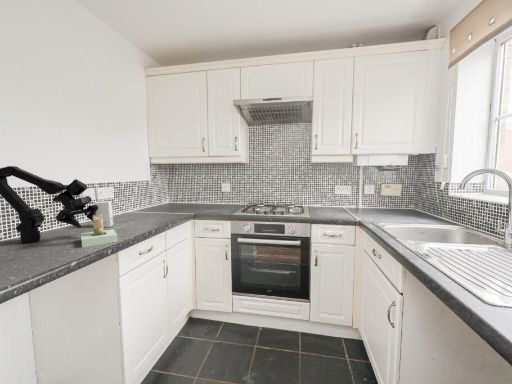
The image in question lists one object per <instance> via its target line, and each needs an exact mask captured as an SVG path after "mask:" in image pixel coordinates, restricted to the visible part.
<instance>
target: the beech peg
mask: <svg viewBox="0 0 512 384" xmlns="http://www.w3.org/2000/svg"><path fill="white" fill-rule="evenodd" d="M92 224H93V232H94V236H98V235H104V230H105V229H104V227H103V215H102V214H97V215H93V221H92Z"/></svg>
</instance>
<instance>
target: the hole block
mask: <svg viewBox="0 0 512 384" xmlns="http://www.w3.org/2000/svg"><path fill="white" fill-rule="evenodd" d="M103 230H104V235H98V236H94V231H89V232H82V233H80V238H81V247H82V248H86V247H93V246H94V247H95V246H101V245H105V244H106V245H107V244H112V242H113V243H117V241H118V240H119V239H118V233H117V232H116V230H115V229H111V228H110V229H103Z"/></svg>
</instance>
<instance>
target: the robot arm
mask: <svg viewBox="0 0 512 384" xmlns="http://www.w3.org/2000/svg"><path fill="white" fill-rule="evenodd" d="M9 177H14V178H17V179H19V180H22V181H24V182H27V183H29V184H31V185H34V186H37V187H38V188H39V189H40V190H41V191H42V192H45V194H48V195H54V197H53V199H52V202H54V203H55V202H56V203H60V204H61V205H62V206H63V209H60V210H59V212H58V213H57V214H56V216H55V220H56V221H57V222H58V223H65V224H68V225H70V226H73V227H76V228H78V229H80V228H82V225H81V222H79V221H78V219H76V217H75V216H79V215H83V214H84V215H85V216H86V218H87V219H89V220H90V221H92V222H93V215H96V211H97V210H98V208H99V207H98V206H97V205H94V204H92V205H88V204H90V203H91V202H92V201H93V199H92V197H91V196H89V195H85V196H81V197H79V196H80V195H82V194H83V193H84V192H85V191H86V190H87V189H89V188H88V186H87V185H86V183H84V182H82V181H80V180H78V179H76V178H75V179H73V181H71V182H70V183H69V184H68V185H66V184H63V183H61V182H59V181H56V180H51V179H46V178H44V177H41V176H38V175H37V174H33V173H31V172H29V171H27V170H24V169H22V168H20V167H19V166H15V165H9V166H5V167H0V196H1V197H2V198H3V199H4V200H5V201H6V202H7V203H8V204H9V205H10V206H11V207H12V208H13V209H14V210H15V212H16V213H17V215H18V219H19V221H20V223H19V224H18V225H17V226H16V227H15V229H16V231H17V232H19V236H20V238H19V239H20V243H19V244H20V245H23V244H30V243H37V242H39V241H40V240H41V238H42V235H41V230H39V228H40V227H42V226H41V225H42V224H43V223H44V221H45V216H44V215H45V214H44V213H43V212H41V211H40V209H39V208H33V207H32V208H31V207H30V205H28V203H26V202H25V200H24V199H22V197H21V196H20V195H19V194H18V193H17V192H16V191H15V190H14V189H13V188H12V187H11V186H10V185H9V183H8V178H9ZM75 197H78V198H77V199H76V198H75ZM86 206H87V207H86Z"/></svg>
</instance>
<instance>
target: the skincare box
mask: <svg viewBox="0 0 512 384" xmlns="http://www.w3.org/2000/svg"><path fill="white" fill-rule="evenodd" d="M92 205H97V206H98V207H99V208H98V210H97V211H96V215H97V214H102V215H103V228H109V227H110V228H111V227H112V226H113V225H114V217H113V216H114V215H113V204H112V200H109V201H108V200H107V201H106V200H105V201H96V202H94V203H93V204H92Z"/></svg>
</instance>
